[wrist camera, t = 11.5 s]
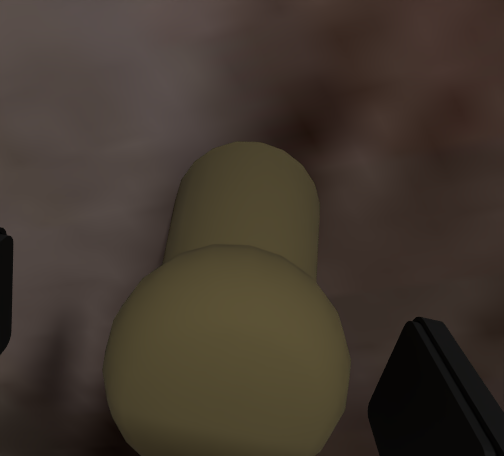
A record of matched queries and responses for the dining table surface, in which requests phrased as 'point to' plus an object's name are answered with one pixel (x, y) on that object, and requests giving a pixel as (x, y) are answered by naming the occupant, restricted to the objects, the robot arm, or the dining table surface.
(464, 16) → the dining table surface
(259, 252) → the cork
